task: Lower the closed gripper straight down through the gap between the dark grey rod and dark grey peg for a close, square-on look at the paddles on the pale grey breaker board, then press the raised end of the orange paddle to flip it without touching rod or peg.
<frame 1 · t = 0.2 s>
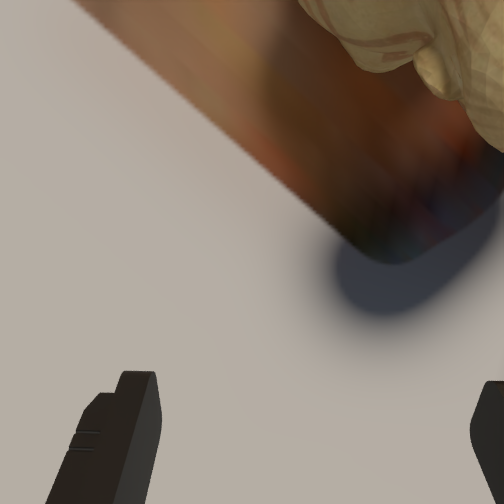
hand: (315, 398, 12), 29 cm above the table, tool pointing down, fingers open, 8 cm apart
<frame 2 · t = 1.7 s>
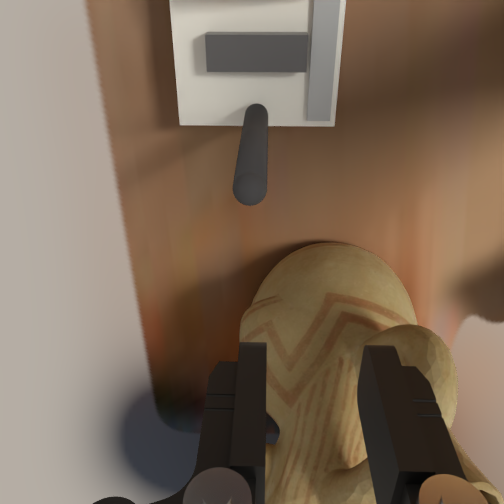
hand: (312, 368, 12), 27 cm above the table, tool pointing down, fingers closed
dark grey rod: (253, 145, 27), point 10 cm above the table, hinge at 0.0°
ceramic vessel: (328, 295, 45), on the table
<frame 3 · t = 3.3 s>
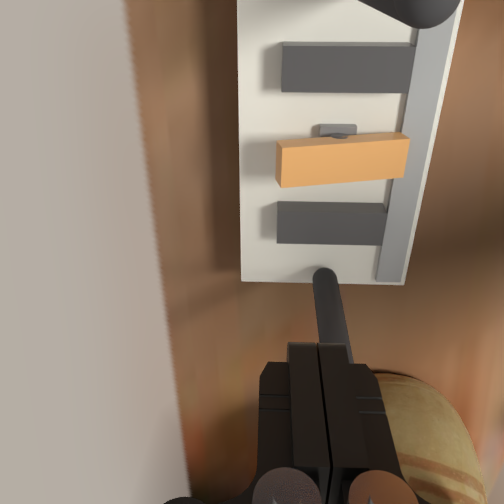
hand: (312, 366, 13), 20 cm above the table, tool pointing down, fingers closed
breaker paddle: (339, 157, 26), point 5 cm above the table, hinge at -14.0°
dark grey rod: (334, 343, 25), point 10 cm above the table, hinge at 0.0°
breaker board: (329, 131, 29), on the table
ceramic vessel: (378, 416, 44), on the table
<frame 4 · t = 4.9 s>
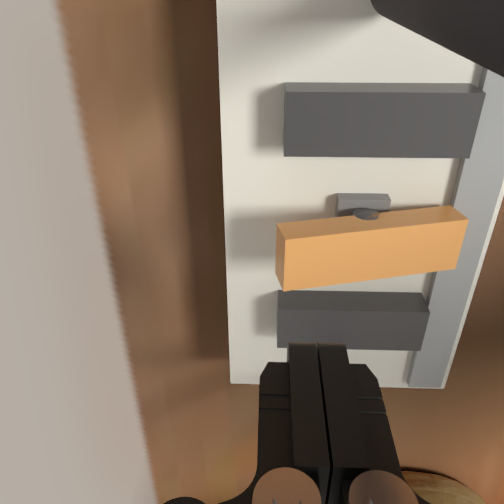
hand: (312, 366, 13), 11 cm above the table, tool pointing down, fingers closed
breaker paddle: (366, 243, 18), point 5 cm above the table, hinge at -14.0°
breaker board: (347, 193, 22), on the table
dark grey peg: (469, 5, 9), point 10 cm above the table, hinge at 0.0°
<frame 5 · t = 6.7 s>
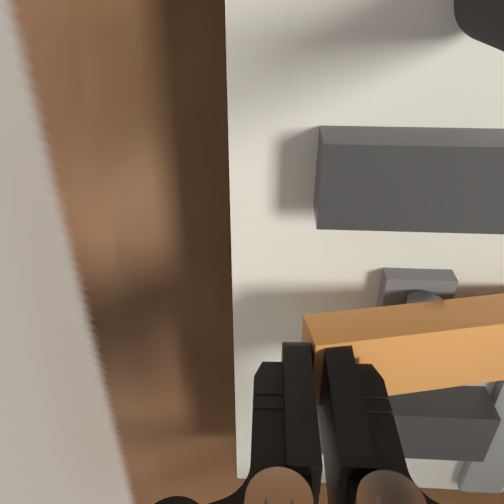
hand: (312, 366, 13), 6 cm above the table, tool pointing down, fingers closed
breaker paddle: (424, 340, 13), point 5 cm above the table, hinge at -12.6°, touching gripper
breaker board: (390, 254, 17), on the table
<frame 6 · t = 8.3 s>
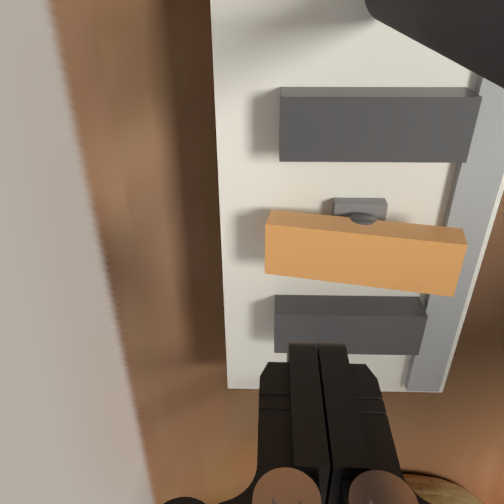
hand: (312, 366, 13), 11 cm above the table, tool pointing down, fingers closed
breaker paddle: (359, 248, 18), point 5 cm above the table, hinge at 11.3°
breaker board: (344, 197, 22), on the table
dark grey peg: (465, 11, 9), point 10 cm above the table, hinge at 0.0°
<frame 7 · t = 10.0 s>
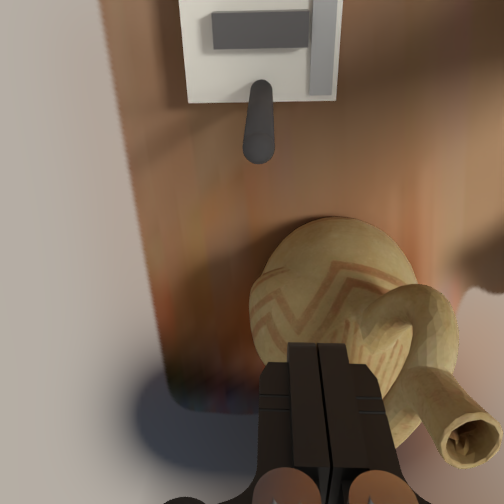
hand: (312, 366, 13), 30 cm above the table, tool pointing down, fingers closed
dark grey rod: (260, 114, 29), point 10 cm above the table, hinge at 0.0°
ceramic vessel: (333, 270, 47), on the table
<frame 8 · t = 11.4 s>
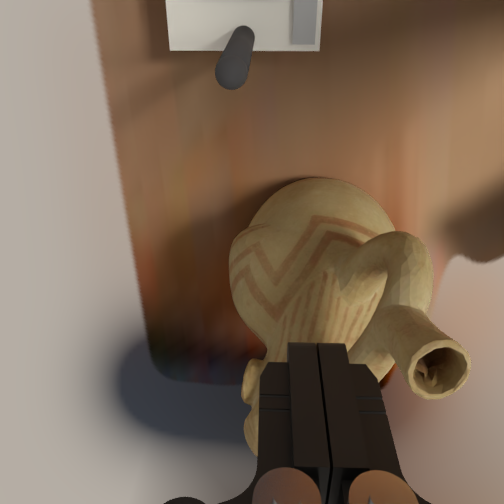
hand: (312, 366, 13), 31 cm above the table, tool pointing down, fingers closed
dark grey rod: (238, 52, 28), point 10 cm above the table, hinge at 0.0°
ceramic vessel: (317, 235, 46), on the table
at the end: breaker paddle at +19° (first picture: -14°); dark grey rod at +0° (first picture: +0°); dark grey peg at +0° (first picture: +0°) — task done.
